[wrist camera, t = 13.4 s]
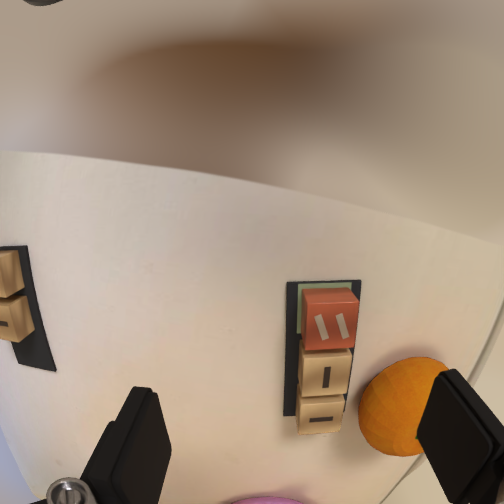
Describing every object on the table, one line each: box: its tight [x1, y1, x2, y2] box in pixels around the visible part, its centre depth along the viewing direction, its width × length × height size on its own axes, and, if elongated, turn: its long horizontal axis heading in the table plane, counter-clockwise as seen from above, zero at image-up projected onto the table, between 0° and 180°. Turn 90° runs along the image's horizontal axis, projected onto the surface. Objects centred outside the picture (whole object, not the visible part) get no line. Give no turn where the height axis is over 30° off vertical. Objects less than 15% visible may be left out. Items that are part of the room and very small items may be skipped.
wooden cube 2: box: [0, 295, 35, 343], centre depth 29 cm, size 4×4×4 cm
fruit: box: [358, 357, 449, 457], centre depth 27 cm, size 12×12×10 cm
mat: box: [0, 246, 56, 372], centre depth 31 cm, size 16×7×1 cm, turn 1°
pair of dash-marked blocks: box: [295, 340, 352, 435], centre depth 30 cm, size 10×4×4 cm, turn 1°
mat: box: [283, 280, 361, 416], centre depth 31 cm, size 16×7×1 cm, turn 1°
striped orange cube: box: [301, 287, 359, 350], centre depth 28 cm, size 4×4×4 cm
